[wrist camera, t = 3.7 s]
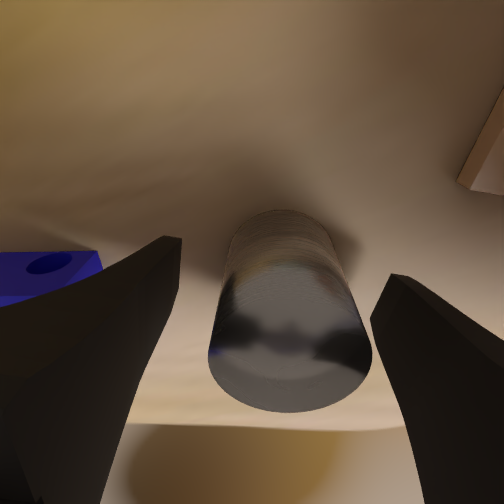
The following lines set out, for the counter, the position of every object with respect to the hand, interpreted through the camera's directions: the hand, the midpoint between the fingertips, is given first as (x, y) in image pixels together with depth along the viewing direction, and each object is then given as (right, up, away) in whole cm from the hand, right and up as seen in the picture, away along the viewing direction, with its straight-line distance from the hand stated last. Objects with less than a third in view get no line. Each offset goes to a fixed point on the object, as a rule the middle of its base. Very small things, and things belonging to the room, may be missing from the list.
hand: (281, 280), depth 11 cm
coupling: (0, +1, +1) cm, 2 cm away
